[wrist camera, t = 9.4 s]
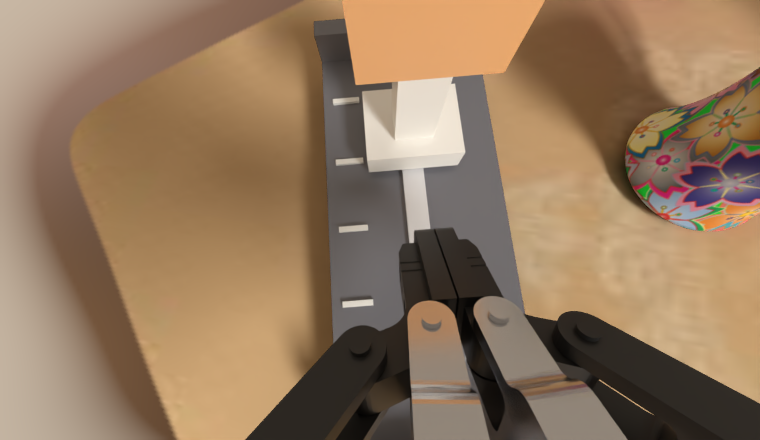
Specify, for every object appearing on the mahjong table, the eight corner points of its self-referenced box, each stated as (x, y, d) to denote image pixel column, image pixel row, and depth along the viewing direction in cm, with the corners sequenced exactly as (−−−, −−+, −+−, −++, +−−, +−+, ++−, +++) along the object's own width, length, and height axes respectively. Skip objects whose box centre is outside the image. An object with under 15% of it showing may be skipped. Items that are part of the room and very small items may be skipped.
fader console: (521, 431, 16) (581, 499, 11) (347, 445, 16) (330, 517, 11) (463, 69, 21) (486, 6, 16) (330, 81, 21) (313, 21, 16)
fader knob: (457, 165, 16) (562, -5, 6) (369, 172, 16) (342, 15, 6) (448, 102, 17) (528, -130, 7) (364, 109, 17) (335, -113, 7)
